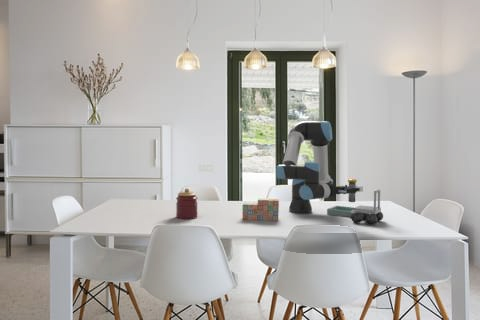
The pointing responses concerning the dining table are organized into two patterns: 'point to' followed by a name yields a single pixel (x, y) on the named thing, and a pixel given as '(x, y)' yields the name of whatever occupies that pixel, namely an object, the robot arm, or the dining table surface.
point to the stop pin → (352, 184)
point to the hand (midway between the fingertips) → (359, 188)
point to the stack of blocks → (261, 210)
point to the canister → (186, 205)
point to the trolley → (368, 212)
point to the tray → (340, 211)
